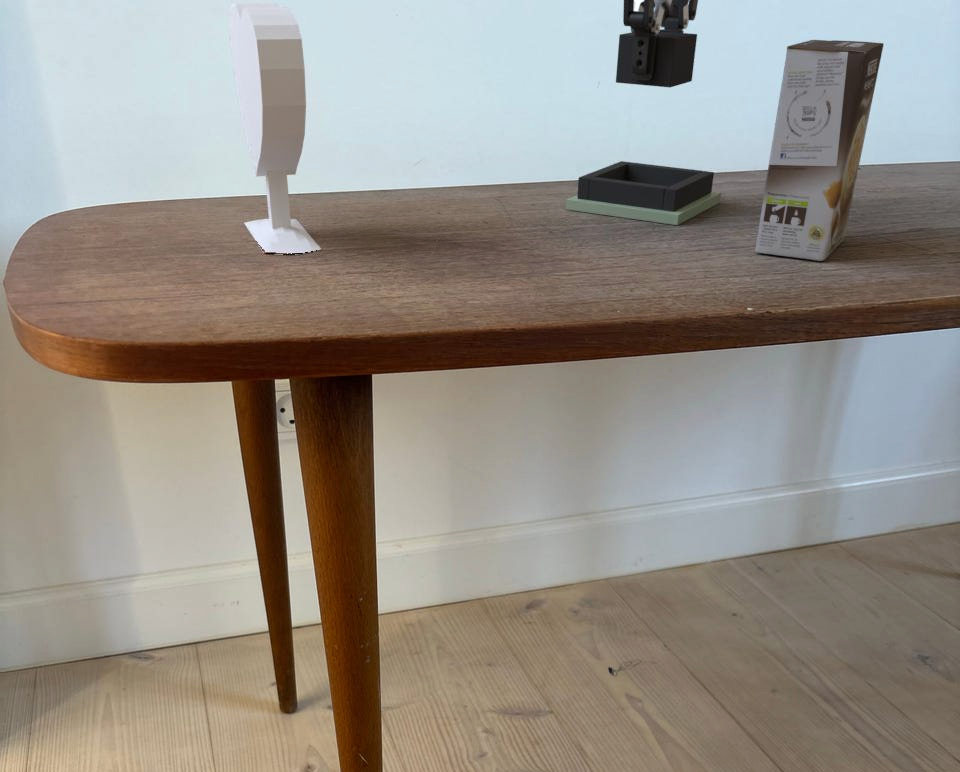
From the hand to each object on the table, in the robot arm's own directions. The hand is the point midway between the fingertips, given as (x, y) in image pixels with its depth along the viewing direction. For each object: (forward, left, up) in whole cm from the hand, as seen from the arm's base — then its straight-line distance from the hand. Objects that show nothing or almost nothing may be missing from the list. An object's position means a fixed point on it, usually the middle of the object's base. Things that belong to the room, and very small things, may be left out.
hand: (655, 75), depth 101 cm
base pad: (0, 0, -12) cm, 12 cm away
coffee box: (-18, +7, -12) cm, 23 cm away
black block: (0, 0, 0) cm, 0 cm away
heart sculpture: (+23, +30, -12) cm, 39 cm away
